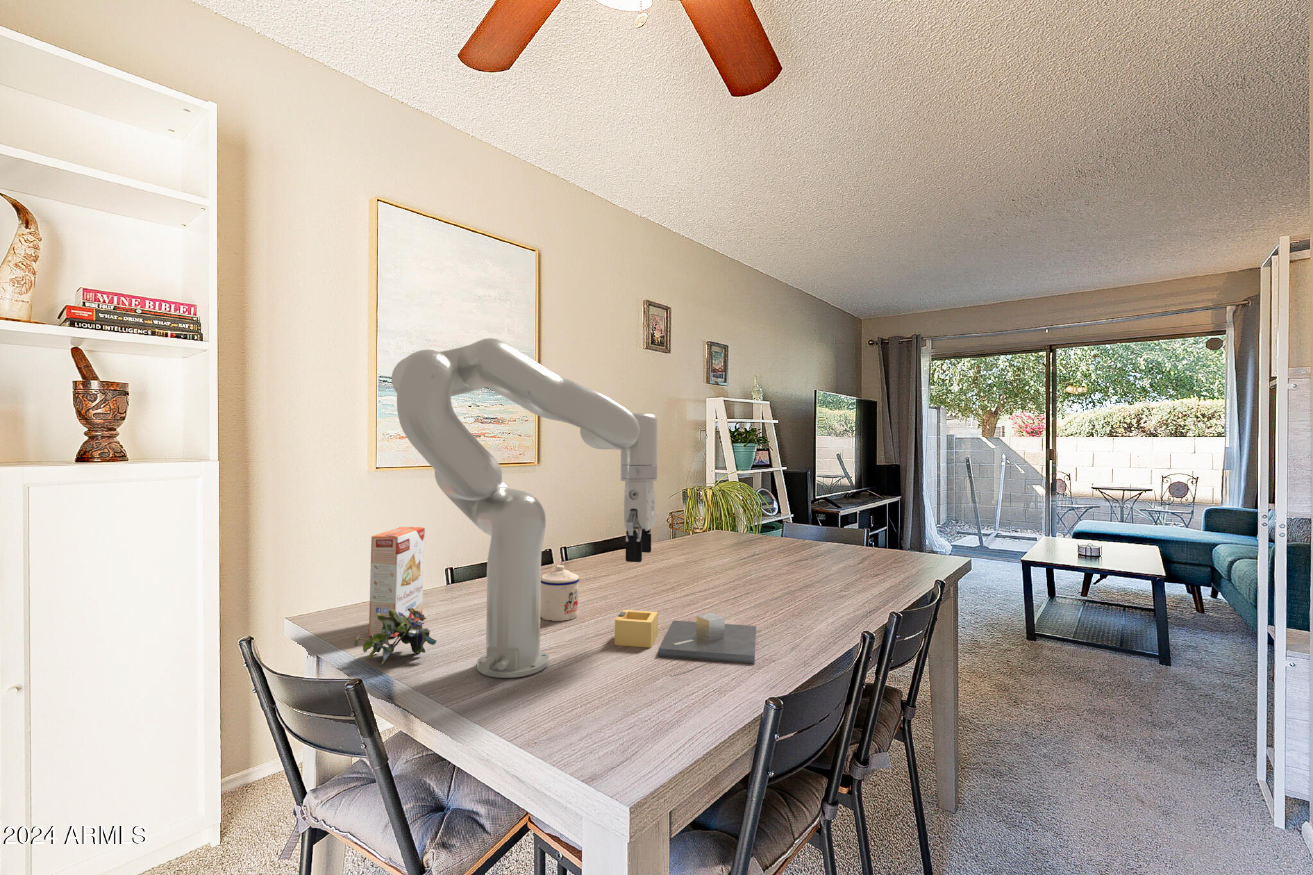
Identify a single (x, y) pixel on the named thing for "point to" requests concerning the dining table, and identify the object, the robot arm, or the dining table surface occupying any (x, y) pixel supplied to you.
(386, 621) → the passion flower
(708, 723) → the dining table surface
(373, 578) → the cracker box
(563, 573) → the teacup with lid
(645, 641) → the collar
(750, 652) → the post plate
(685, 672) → the dining table surface
